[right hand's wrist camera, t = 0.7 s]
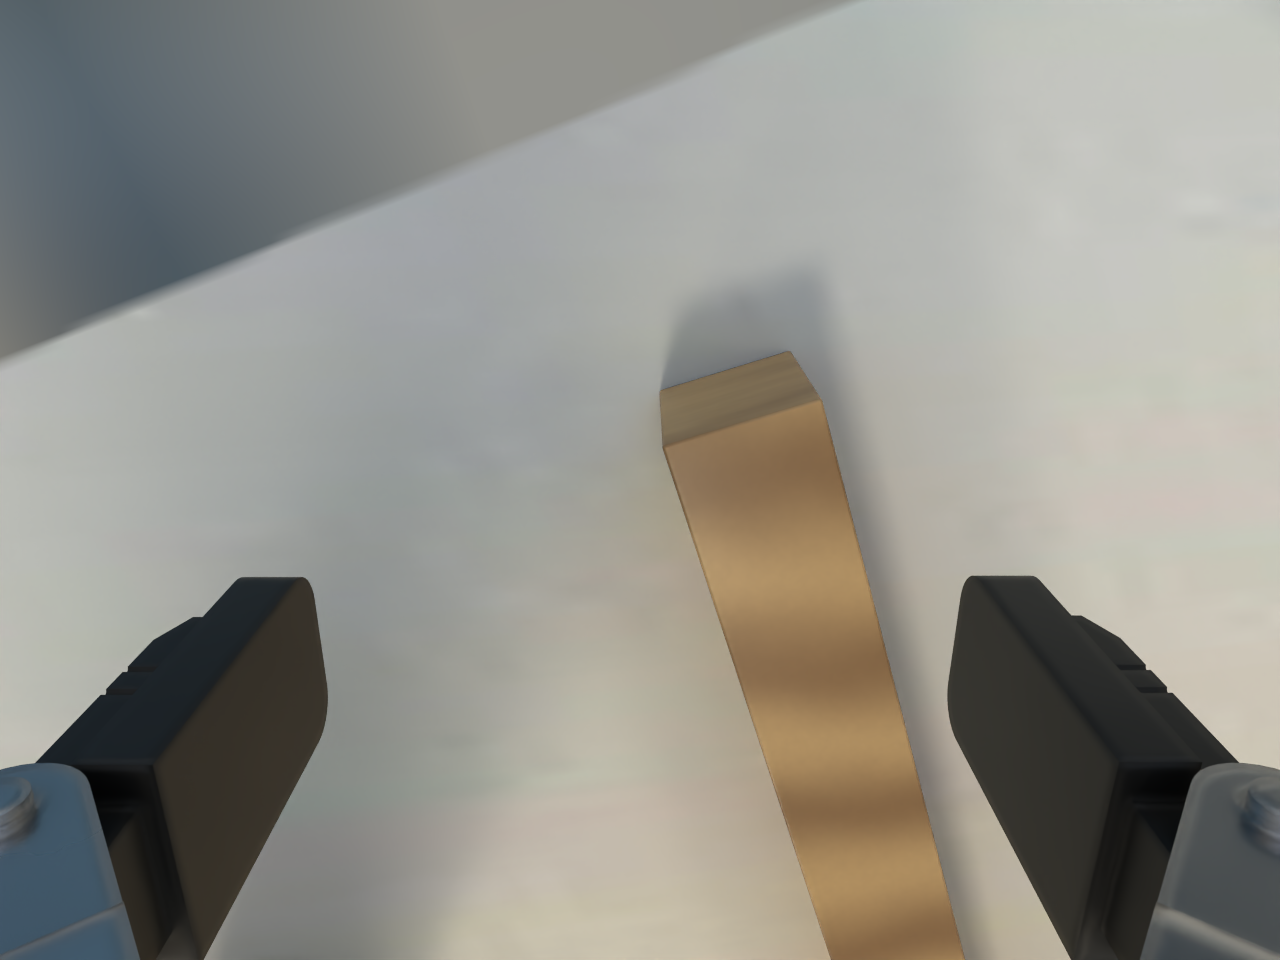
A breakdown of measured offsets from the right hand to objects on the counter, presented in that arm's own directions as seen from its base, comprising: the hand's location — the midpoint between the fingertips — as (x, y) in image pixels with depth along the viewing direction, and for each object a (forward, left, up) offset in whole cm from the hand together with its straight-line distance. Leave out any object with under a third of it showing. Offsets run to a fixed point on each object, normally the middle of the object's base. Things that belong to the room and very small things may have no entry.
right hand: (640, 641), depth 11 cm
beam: (-29, -23, -21) cm, 43 cm away
